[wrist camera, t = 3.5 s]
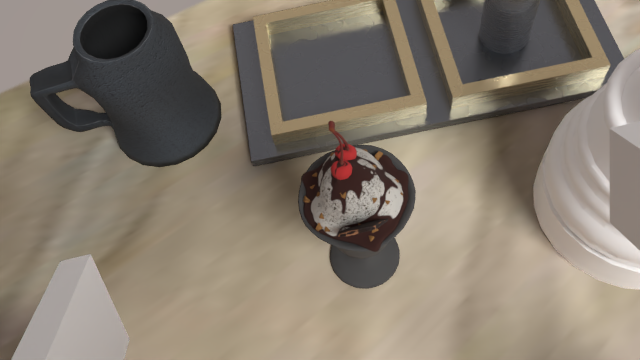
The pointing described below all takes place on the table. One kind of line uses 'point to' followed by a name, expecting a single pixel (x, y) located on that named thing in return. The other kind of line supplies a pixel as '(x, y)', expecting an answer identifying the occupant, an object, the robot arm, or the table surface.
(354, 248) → the sundae
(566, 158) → the honey pot
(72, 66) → the mug
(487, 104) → the olive compartment tray
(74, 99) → the table surface
